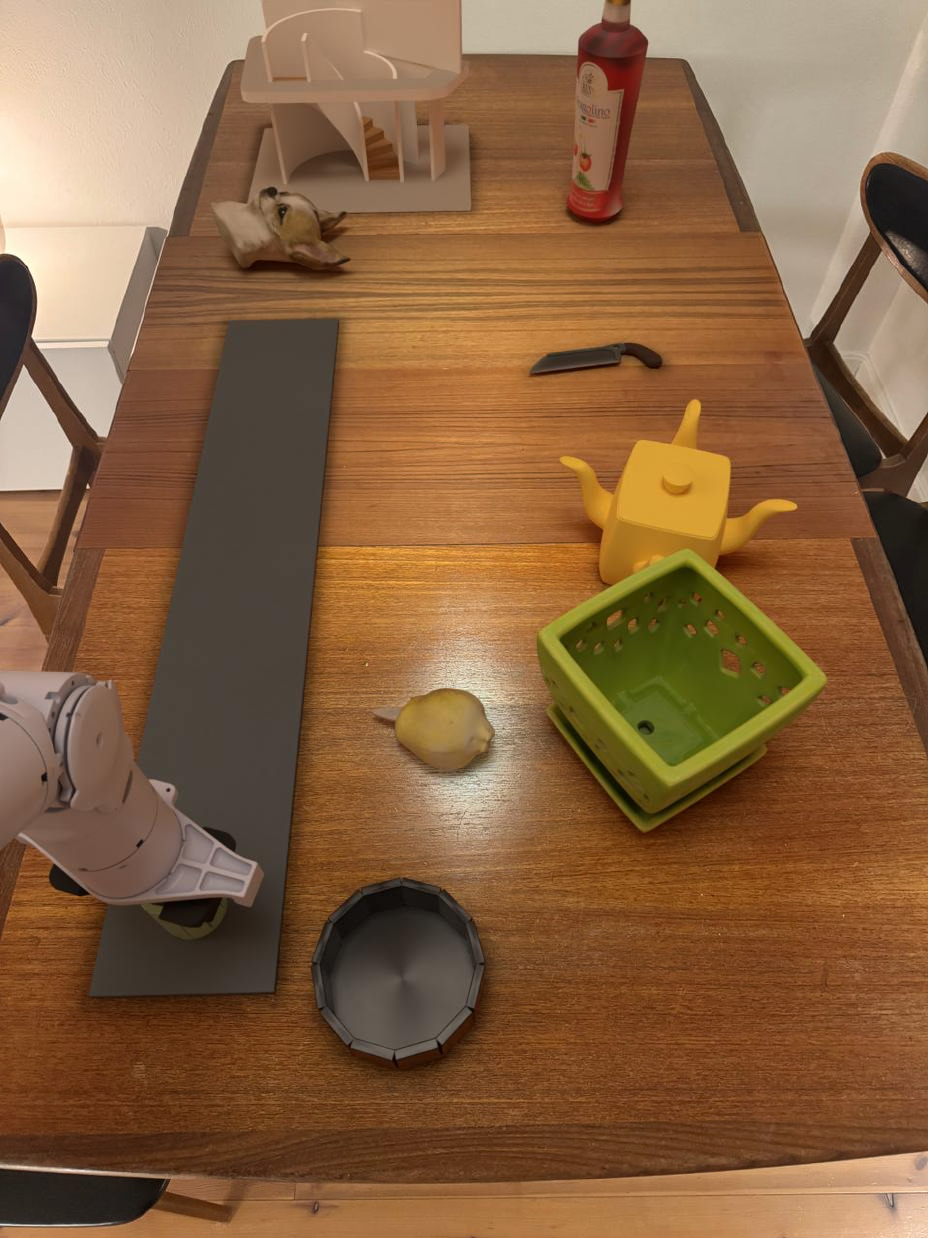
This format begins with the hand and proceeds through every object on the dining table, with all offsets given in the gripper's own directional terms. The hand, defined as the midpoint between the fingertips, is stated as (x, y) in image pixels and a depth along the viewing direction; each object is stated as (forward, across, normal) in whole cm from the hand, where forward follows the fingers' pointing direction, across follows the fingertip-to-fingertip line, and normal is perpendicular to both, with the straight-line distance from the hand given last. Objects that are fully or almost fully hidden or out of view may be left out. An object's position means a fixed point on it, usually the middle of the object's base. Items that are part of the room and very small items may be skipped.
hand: (177, 895), depth 56 cm
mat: (+4, +8, -28) cm, 30 cm away
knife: (+5, -16, -63) cm, 65 cm away
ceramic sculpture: (+5, +22, -73) cm, 76 cm away
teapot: (+5, -26, -40) cm, 48 cm away
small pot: (+4, 0, 0) cm, 4 cm away
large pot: (+4, -15, 0) cm, 16 cm away
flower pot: (+5, -28, -21) cm, 35 cm away
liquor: (+5, -11, -91) cm, 92 cm away
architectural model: (+5, +20, -94) cm, 96 cm away
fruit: (+5, -12, -17) cm, 21 cm away
